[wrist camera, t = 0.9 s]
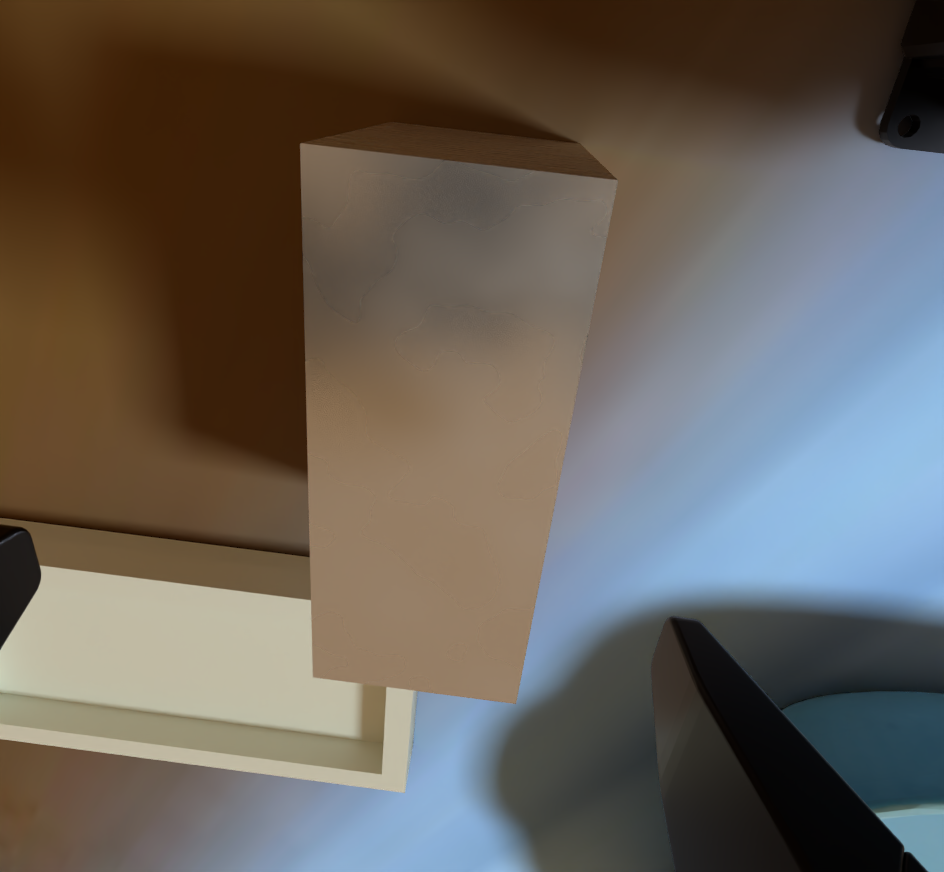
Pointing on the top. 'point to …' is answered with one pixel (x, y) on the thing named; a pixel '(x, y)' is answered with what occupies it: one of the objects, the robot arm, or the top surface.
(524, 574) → the white rectangular block
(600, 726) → the top surface
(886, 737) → the casserole dish
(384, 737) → the tray
